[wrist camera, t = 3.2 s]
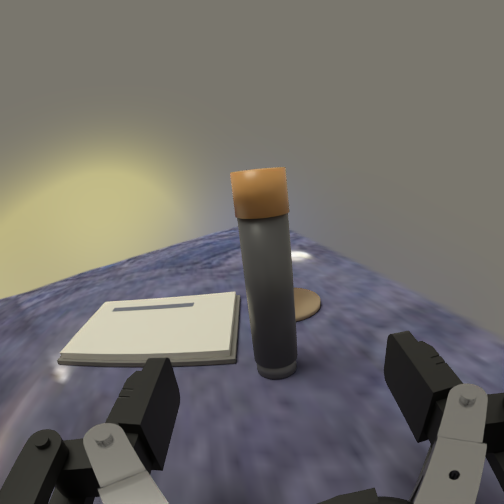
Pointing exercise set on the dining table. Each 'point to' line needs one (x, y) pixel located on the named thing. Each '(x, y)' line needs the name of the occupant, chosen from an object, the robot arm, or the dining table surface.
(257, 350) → the marker
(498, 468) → the robot arm
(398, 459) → the dining table surface
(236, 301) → the notepad
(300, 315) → the coaster
